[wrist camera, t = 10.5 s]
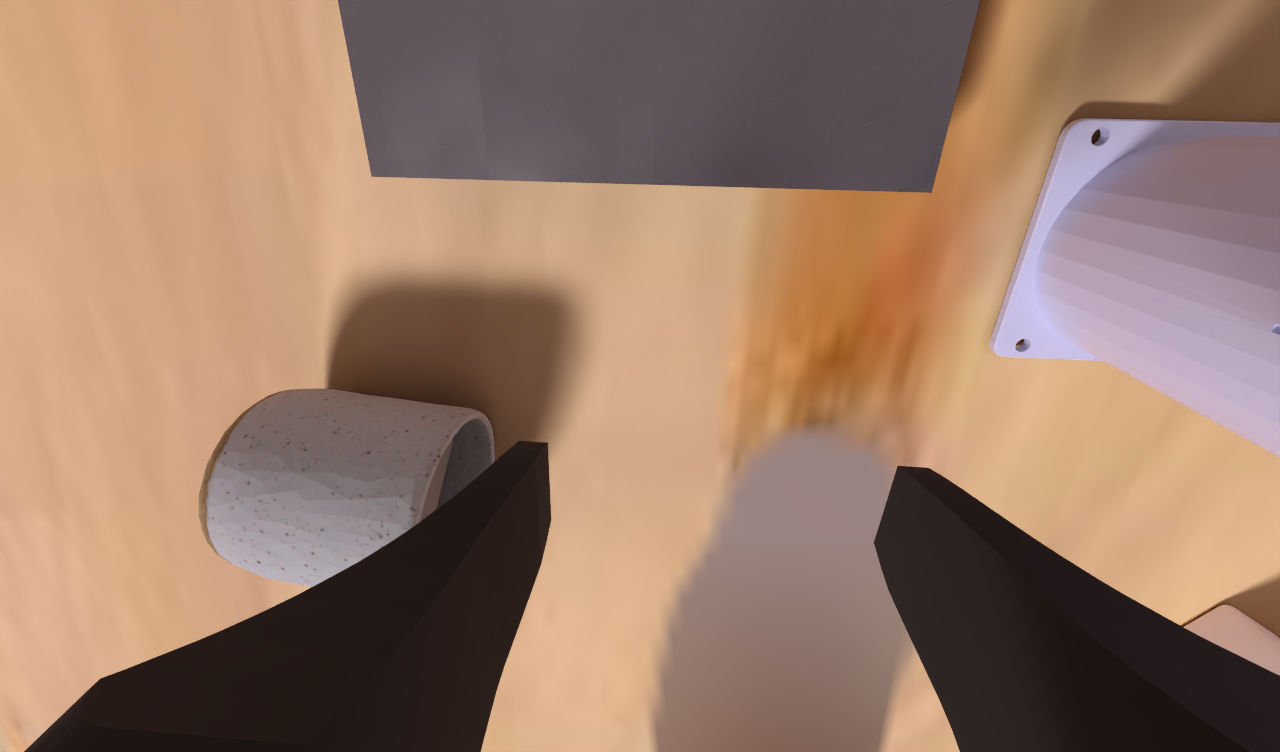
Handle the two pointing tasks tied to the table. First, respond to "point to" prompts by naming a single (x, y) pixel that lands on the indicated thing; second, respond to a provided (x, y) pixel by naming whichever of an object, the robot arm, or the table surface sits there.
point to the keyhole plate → (660, 90)
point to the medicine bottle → (1239, 636)
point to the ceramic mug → (333, 478)
